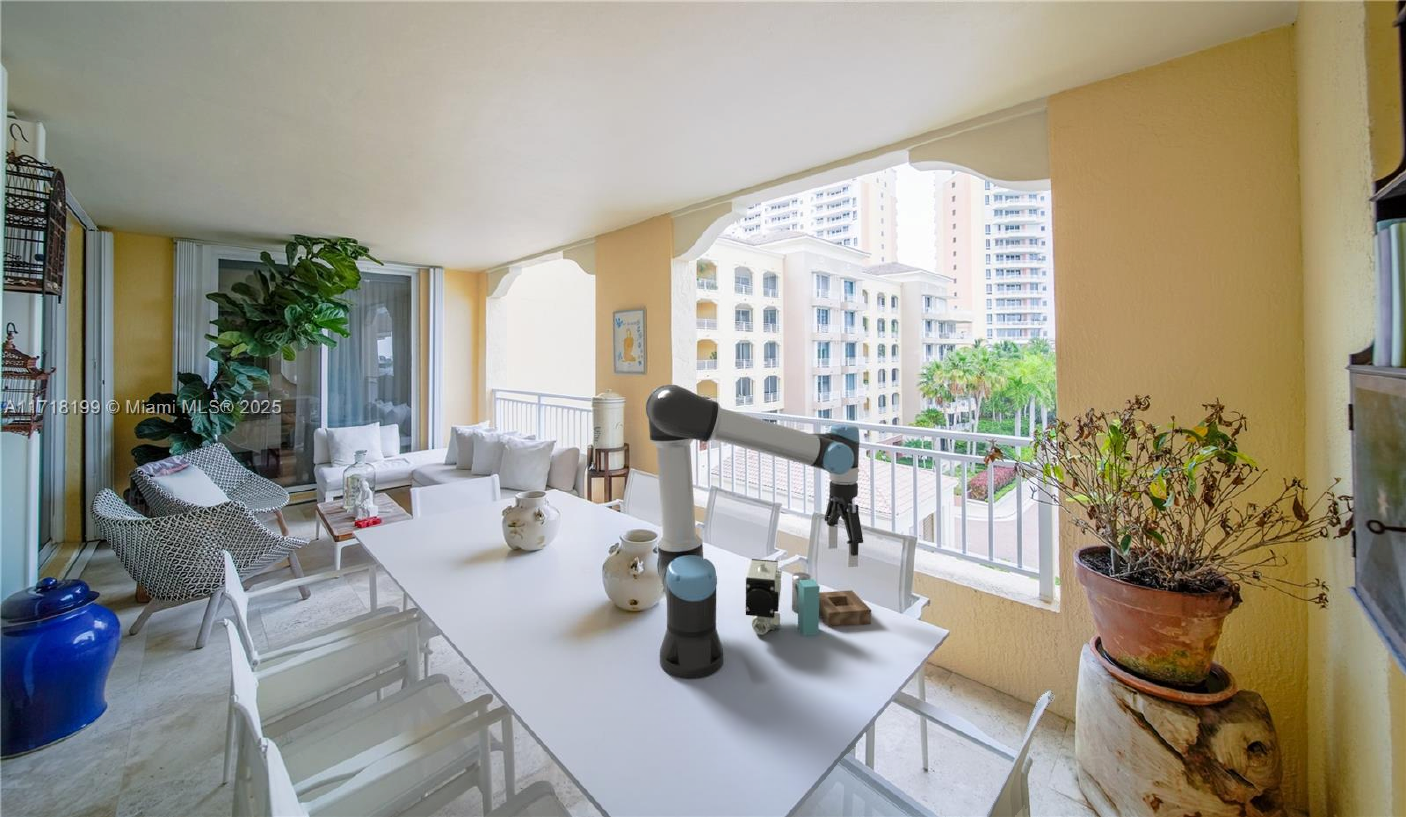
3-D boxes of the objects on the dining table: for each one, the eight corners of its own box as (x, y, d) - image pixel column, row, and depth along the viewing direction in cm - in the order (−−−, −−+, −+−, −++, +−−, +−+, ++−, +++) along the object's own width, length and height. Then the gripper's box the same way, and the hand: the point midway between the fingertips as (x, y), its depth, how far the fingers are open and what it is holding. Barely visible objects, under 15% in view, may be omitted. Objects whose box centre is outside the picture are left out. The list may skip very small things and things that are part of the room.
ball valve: (778, 648, 128) (779, 578, 126) (744, 644, 129) (744, 575, 128) (782, 613, 145) (783, 552, 144) (752, 610, 147) (752, 550, 145)
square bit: (803, 635, 134) (803, 587, 132) (797, 627, 138) (798, 580, 137) (818, 634, 134) (819, 586, 133) (812, 626, 138) (813, 579, 137)
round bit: (795, 614, 145) (795, 580, 144) (789, 606, 150) (790, 572, 149) (812, 613, 145) (812, 578, 145) (806, 605, 150) (806, 571, 149)
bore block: (828, 627, 138) (828, 612, 137) (812, 606, 150) (812, 592, 149) (870, 623, 139) (871, 609, 139) (851, 603, 151) (851, 590, 151)
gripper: (878, 492, 129) (876, 574, 131) (838, 471, 154) (836, 540, 156) (850, 493, 128) (848, 575, 130) (814, 472, 153) (812, 541, 155)
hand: (841, 556), depth 143 cm, fingers open, 13 cm apart
